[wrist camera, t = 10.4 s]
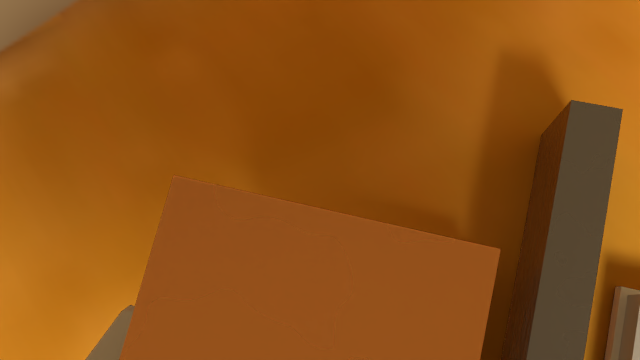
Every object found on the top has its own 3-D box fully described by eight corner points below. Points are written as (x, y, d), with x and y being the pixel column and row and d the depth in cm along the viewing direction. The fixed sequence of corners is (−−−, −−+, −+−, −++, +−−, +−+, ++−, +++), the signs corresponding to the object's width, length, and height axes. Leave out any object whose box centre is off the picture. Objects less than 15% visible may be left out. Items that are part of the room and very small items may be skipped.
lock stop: (436, 284, 17) (500, 249, 7) (404, 434, 16) (427, 634, 6) (296, 250, 17) (173, 175, 7) (260, 393, 16) (73, 515, 7)
